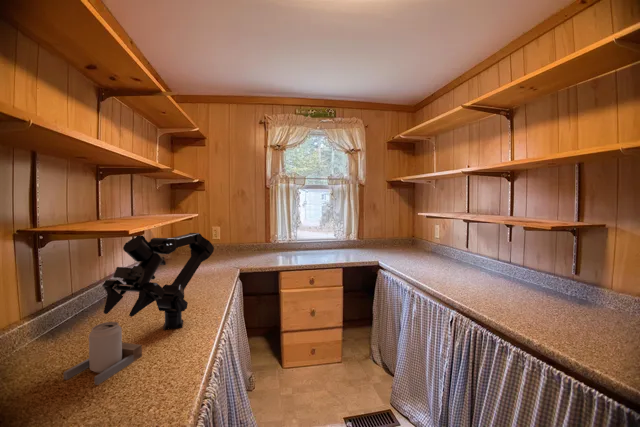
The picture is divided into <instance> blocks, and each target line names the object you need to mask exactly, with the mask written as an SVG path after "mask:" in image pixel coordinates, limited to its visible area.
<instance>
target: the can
mask: <svg viewBox="0 0 640 427" xmlns="http://www.w3.org/2000/svg"><path fill="white" fill-rule="evenodd" d="M119 324H120V323H119V322H117V321H105V322H102V323H98V324H96V325H94V326H93V327H92V328H91V331H90V332H89V334H88V355H89V356H88V357H89V358H88V359H89V366H90V367H89V370H90V371H92V372H94V373H98V374H100V373H102V372H103V371H105V370H106V369H108V368H110V367H111V366H113V365H115V364H116V363H118V362H119V361H121V360H122V343H123V340H122V339H123V336H122V335H123V334H122V332H123V331H122V329H123V328H122V326H120V325H119Z"/></svg>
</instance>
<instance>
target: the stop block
mask: <svg viewBox="0 0 640 427" xmlns="http://www.w3.org/2000/svg"><path fill="white" fill-rule="evenodd" d="M142 346H143V345H142V344H138V343H128V342H122V360H123V359H124V358H126V357H128V356H129V355H133V356H134V362H135V361H137V360H138V359H140V358H141V357H143V349H142V348H143V347H142Z"/></svg>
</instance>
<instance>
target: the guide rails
mask: <svg viewBox="0 0 640 427" xmlns="http://www.w3.org/2000/svg"><path fill="white" fill-rule="evenodd" d="M134 362H135V361H134V356H133V355H129V356H128V357H126V358H124V359H123V360H121V361H119V362H118V363H116V364H115V365H113V366H111V367H110V368H108V369H106V370H105V371H103V372H101V373H98V374H97V375H95V376H94V378H93V379H94V385H95V386H99V385H100V384H101V383H103V382H104V381H106V380H108V379H109V378H111V377H113V376H114V375H116V374H118V373H119V372H120V371H122V370H123V369H124V368H126V367H128V366H129V365H131V364H132V363H134ZM88 368H90V366H89V358H87V359H85V360H83V361H81V362H79V363H78V364H76V365H74V366H72V367H70V368H69V369H66V370H65V371H63V380H65V381H66V380H69V379H71V378H73V377H75V376H76V375H78V374H80V373H81V372H84V371H86V370H87V369H88Z"/></svg>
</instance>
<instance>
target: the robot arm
mask: <svg viewBox="0 0 640 427" xmlns="http://www.w3.org/2000/svg"><path fill="white" fill-rule="evenodd" d="M184 246H188V248H189V249H190V257H189V259H188V260H187V261H186V263H185V264H184V266H183V267H182V269H181V270H180V272H179V273H178V275H177V276H176V277H175V279H174V281H173V282H172V283H171V284H164V285H162V286H161V285H160V284H158V283H157V282H151V281H152V280H153V281H154V280H155V279H156V276H155V274H156V272H157V270H158V269H159V267H160V266H166V264H167V263H166V260H165V257H164V256H161V255H170V254H172V253H174V252H175V251H176V250H177V249H178V248H182V247H184ZM122 248H123V249H122V250H123V251H124V252H125V253H126V254H127V255H128V256H129V257H131V259H133V260H134V261H135V262H139V263H138V265H133V266H132V267H125V266H117V267H116V268H115V270H114V274H113V278H114V279H110V278H109V279H107V280H105V281H104V282H103V284H102V286H101V287H102V288H103V289H104V290H105V291H106V301H105V305H104V309H103V314H105V315H107V314H108V313H110V312H111V311H112V309H113V308H115V306H116V305H117V304H118V303H119V302H120V301H121V300H122V299H123V298H124V296H123V295H125V294H126V292H135V293H138V298H137V299H136V301H135V303H134V304H133V306H132V308H131V310H130V311H129V312H130V313H129V314H128V315H129V317H130V318H132V317H134V316H135V315H137V314H138V313H139V312H141V311H142V310H143V309H145V308H146V307H147V306H150V304H152V303H153V302H155V303H156V306H157V308H158V312H159V311H160V312H164V324H163V328H162V331H168V330H174V329H180V328H181V329H182V328H183V327H184V320H183V319H182V317H183V316H182V312H185V311H186V309H188V304H189V303H188V301H187V300H186V299H184V298H185V289H186V288H187V286H188V284H189V283H190V281H191V279H192V278H193V277H194V275H195V273H196V272H197V270H198V268H199V267H200V265H201V264H202V263H203V262H204V261H206V260H208V259H210V257H211V256H212V254H213V253H214V250H215V248H214V245H213V244H212V242H211V241H210V240H208V239H207V238H205V237H204V236H203V235H202V234H201V233H200V232H189V233H186V234H182V235H176V236H173V237H152V238H151V239H150V241H148V240H147V239H146V238H145V236H144V235H141V234H140V235H136V236H135V237H133V238H132V239H129V240H128V241H127V242H125V243H124V245H123V247H122ZM115 278H119V279H121V280H122V282H121V280H119V279H115ZM124 283H125V284H124Z"/></svg>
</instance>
